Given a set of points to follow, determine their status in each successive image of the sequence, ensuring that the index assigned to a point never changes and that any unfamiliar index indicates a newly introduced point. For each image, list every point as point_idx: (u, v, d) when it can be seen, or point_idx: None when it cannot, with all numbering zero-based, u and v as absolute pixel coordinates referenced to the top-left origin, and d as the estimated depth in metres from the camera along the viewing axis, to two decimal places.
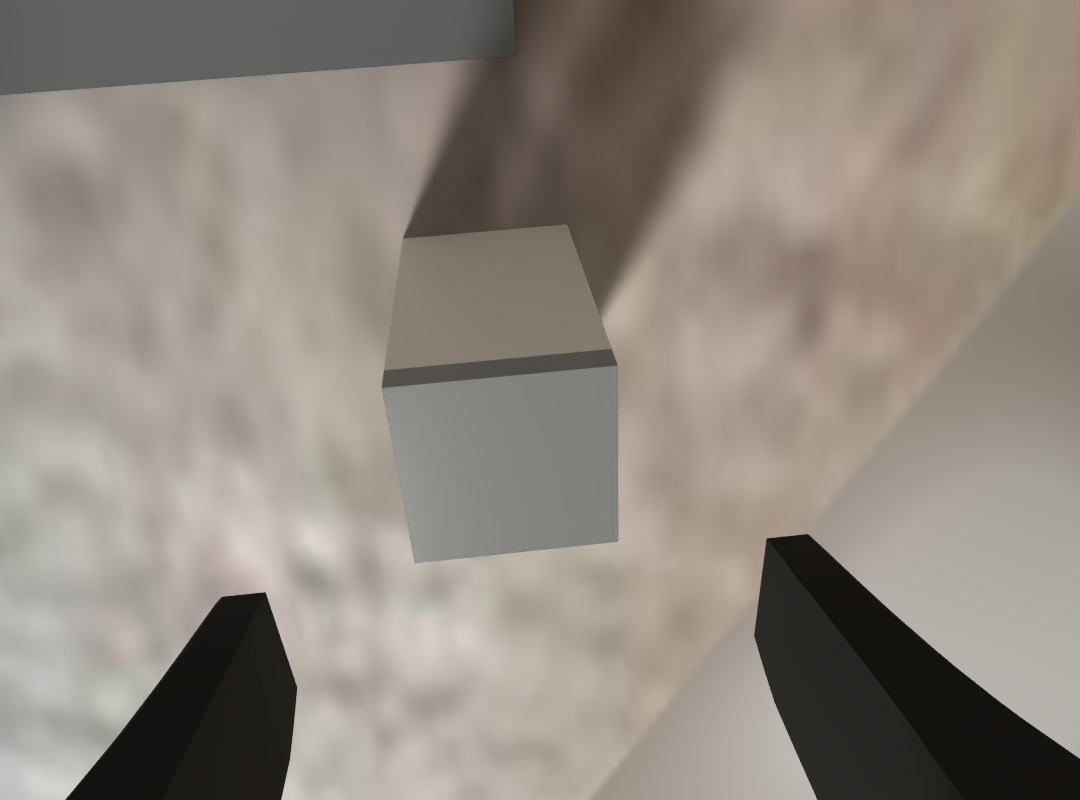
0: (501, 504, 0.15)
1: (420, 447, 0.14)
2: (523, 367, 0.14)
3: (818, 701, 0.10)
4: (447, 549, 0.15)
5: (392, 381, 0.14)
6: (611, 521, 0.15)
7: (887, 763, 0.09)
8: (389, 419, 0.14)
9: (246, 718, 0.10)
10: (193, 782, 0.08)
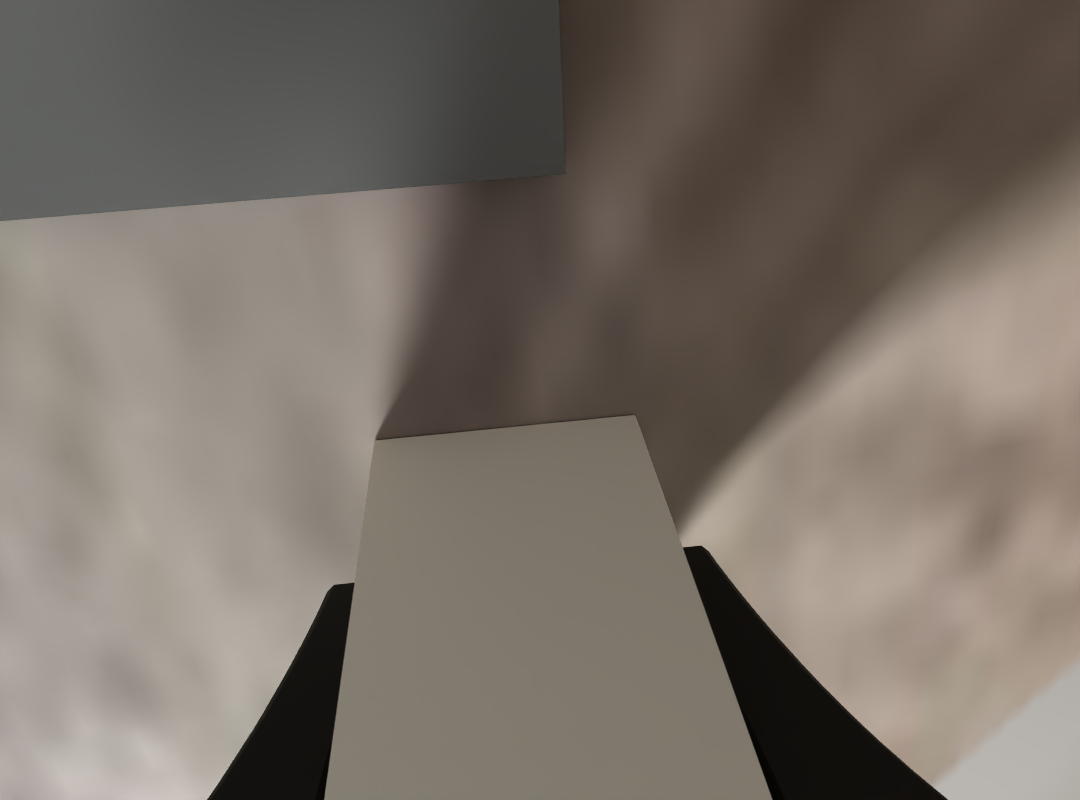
0: None
1: None
2: None
3: None
4: None
5: None
6: None
7: None
8: None
9: None
10: None
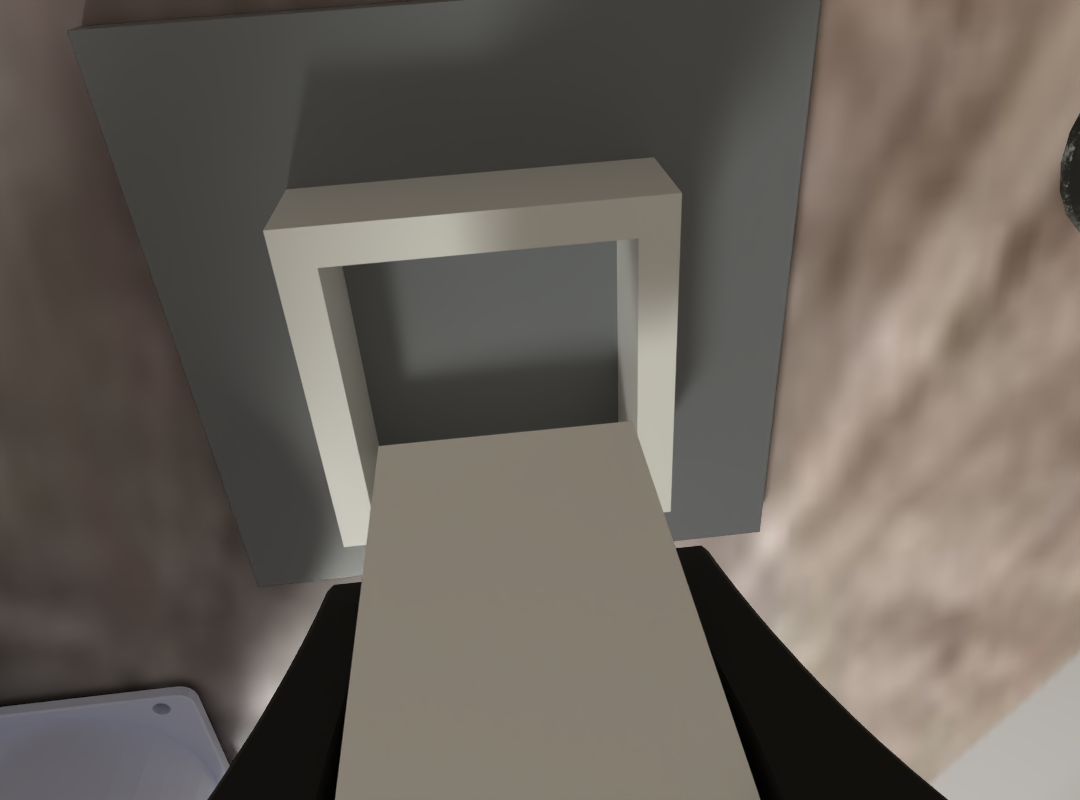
0: None
1: None
2: None
3: None
4: None
5: None
6: None
7: None
8: None
9: None
10: (338, 765, 0.09)
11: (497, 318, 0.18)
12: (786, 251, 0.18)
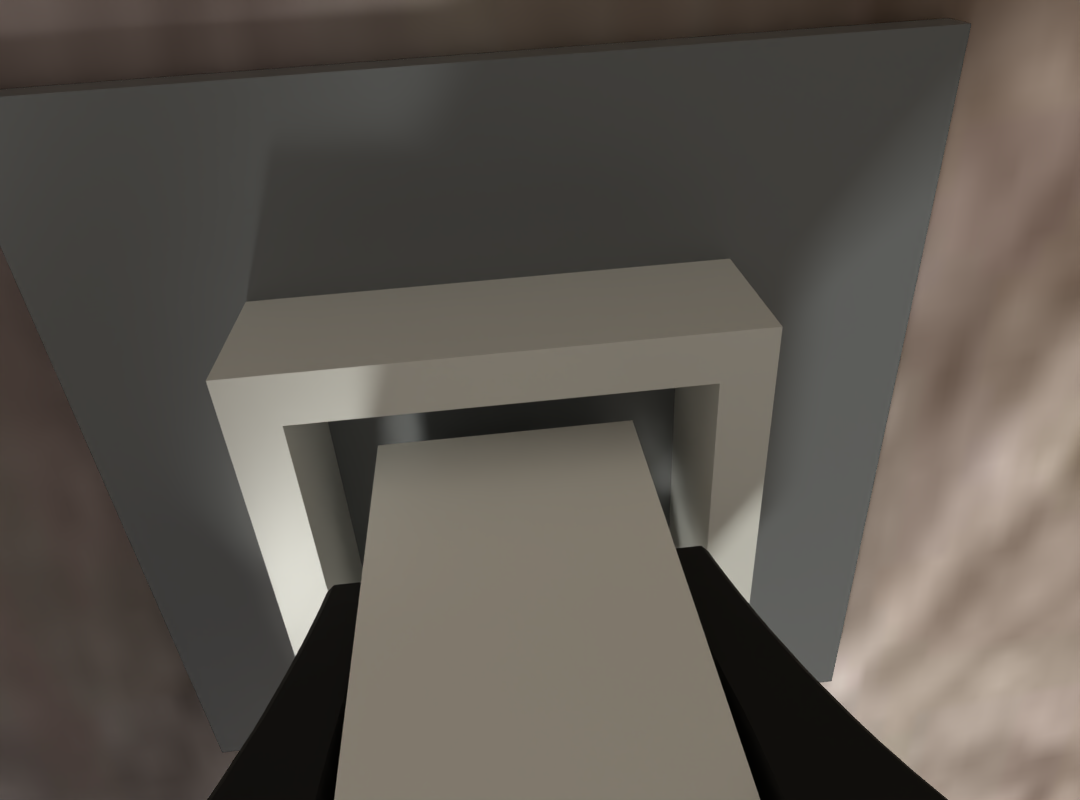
0: None
1: None
2: None
3: None
4: None
5: None
6: None
7: None
8: None
9: None
10: None
11: None
12: (891, 370, 0.14)
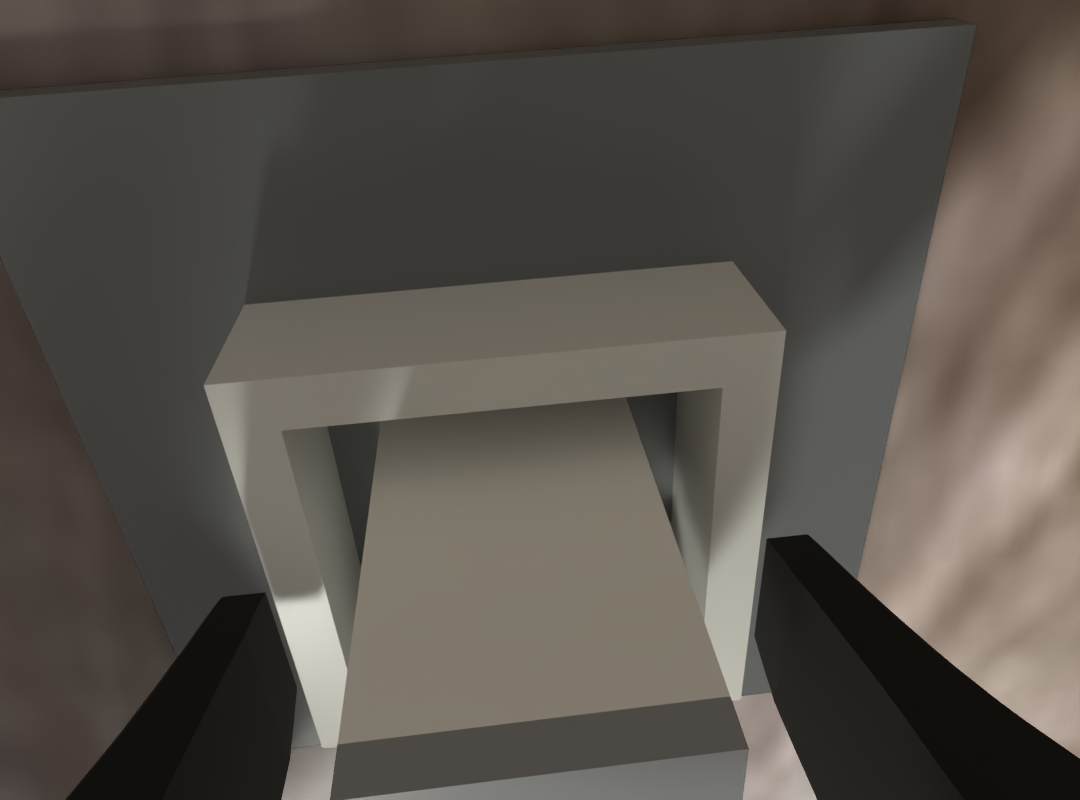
0: None
1: None
2: (580, 745, 0.08)
3: (818, 701, 0.10)
4: None
5: (350, 778, 0.08)
6: None
7: (887, 763, 0.09)
8: None
9: (246, 718, 0.10)
10: (193, 782, 0.08)
11: None
12: (895, 373, 0.14)
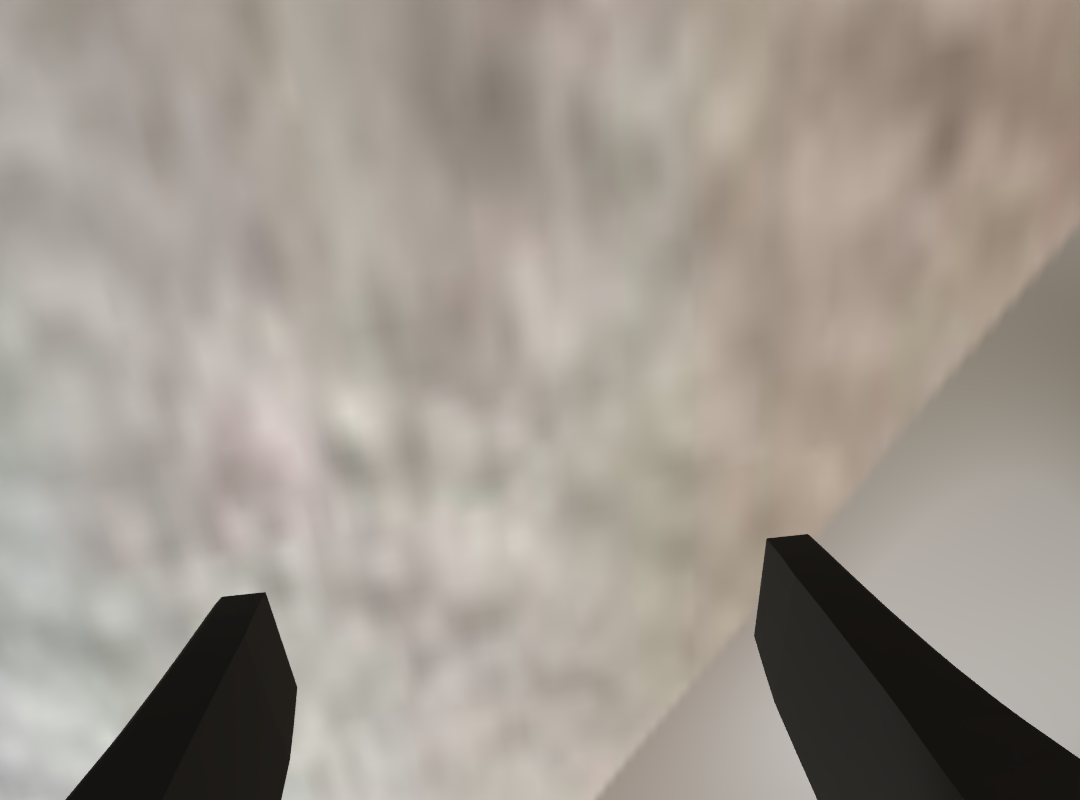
0: None
1: None
2: None
3: (818, 701, 0.10)
4: None
5: None
6: None
7: (887, 763, 0.09)
8: None
9: (246, 718, 0.10)
10: (193, 782, 0.08)
11: None
12: None
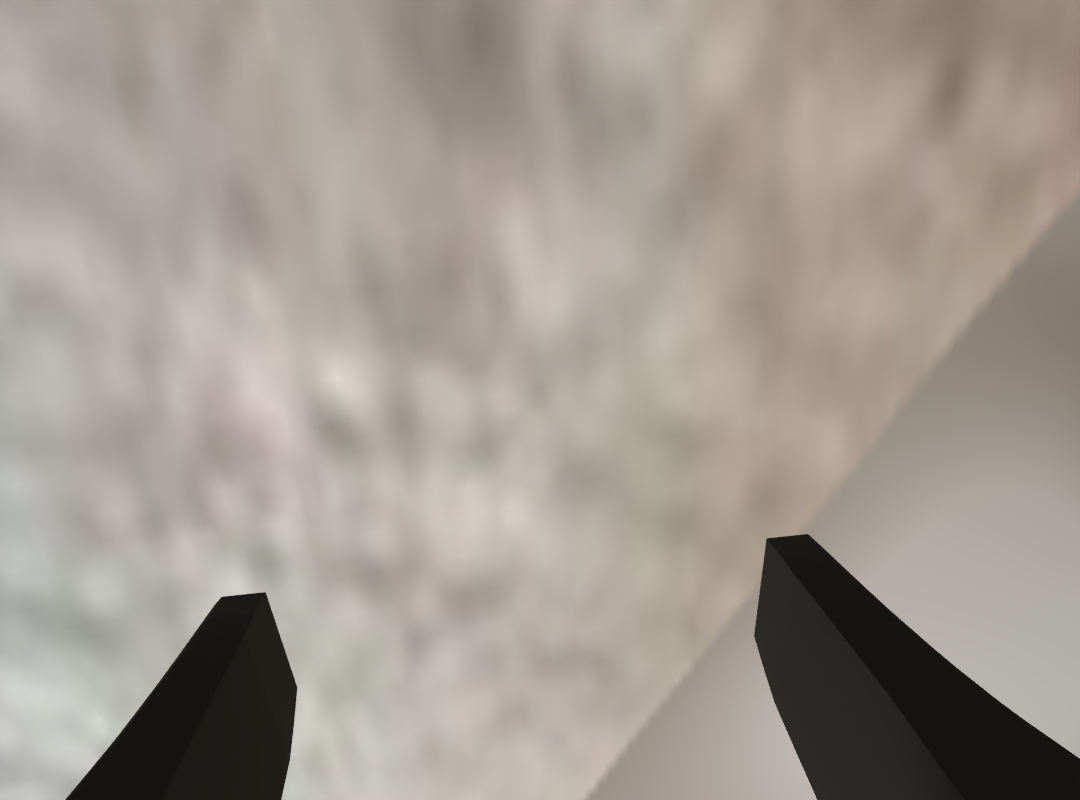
0: None
1: None
2: None
3: (817, 700, 0.10)
4: None
5: None
6: None
7: (887, 763, 0.09)
8: None
9: (246, 718, 0.10)
10: (193, 782, 0.08)
11: None
12: None
